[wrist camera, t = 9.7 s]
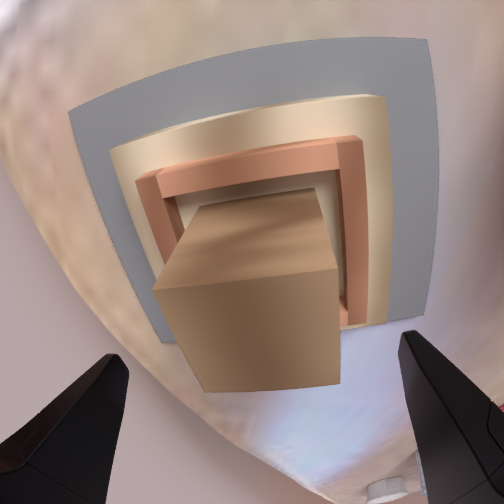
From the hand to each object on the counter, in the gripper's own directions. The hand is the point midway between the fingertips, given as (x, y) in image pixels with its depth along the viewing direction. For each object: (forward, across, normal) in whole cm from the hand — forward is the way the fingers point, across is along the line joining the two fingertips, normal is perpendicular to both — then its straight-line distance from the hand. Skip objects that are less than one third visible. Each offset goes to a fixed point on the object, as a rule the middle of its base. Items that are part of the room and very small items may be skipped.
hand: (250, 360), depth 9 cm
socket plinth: (+10, 0, 0) cm, 10 cm away
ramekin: (+11, -15, +61) cm, 64 cm away
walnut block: (+6, 0, 0) cm, 7 cm away
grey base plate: (+10, 0, 0) cm, 10 cm away
